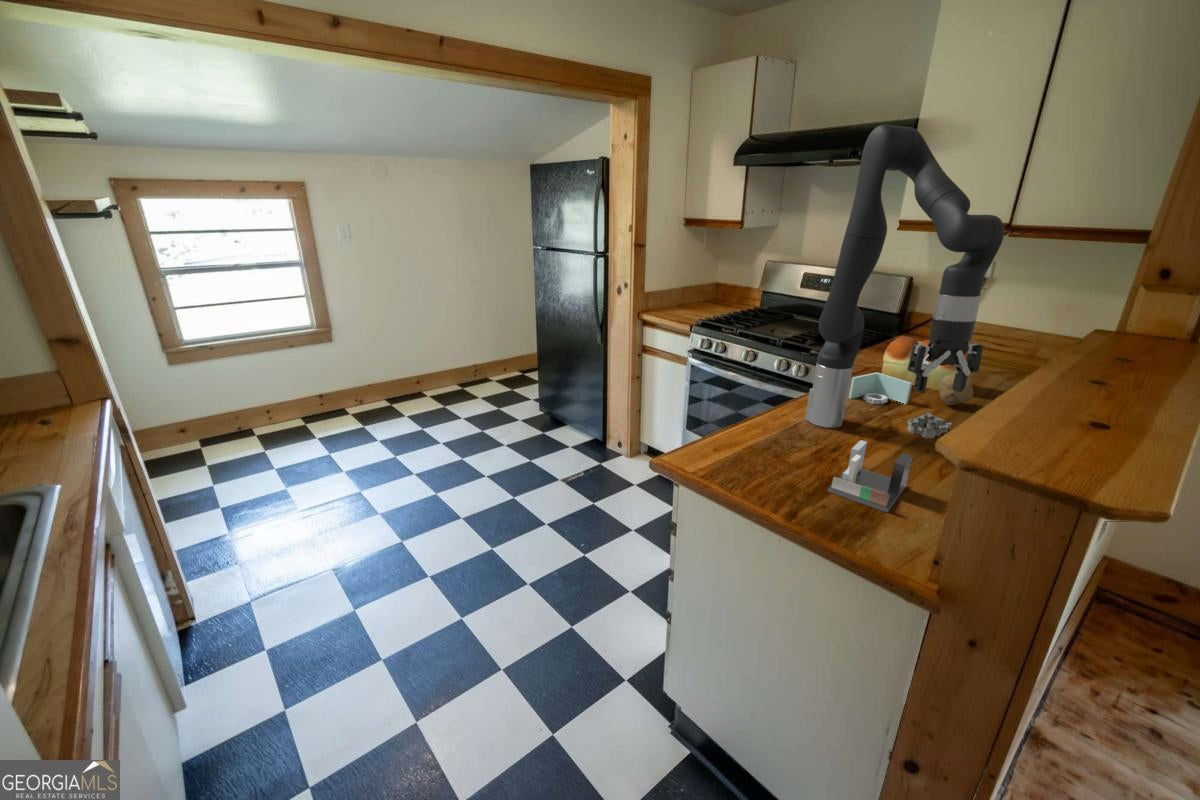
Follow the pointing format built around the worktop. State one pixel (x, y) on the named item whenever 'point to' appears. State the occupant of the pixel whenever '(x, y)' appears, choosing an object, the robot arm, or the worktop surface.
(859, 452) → the block
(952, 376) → the natural sponge
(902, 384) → the l-shaped corner panel
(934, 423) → the jagged gray rock
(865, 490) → the stand
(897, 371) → the bread
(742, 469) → the worktop surface
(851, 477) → the bar
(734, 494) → the worktop surface
